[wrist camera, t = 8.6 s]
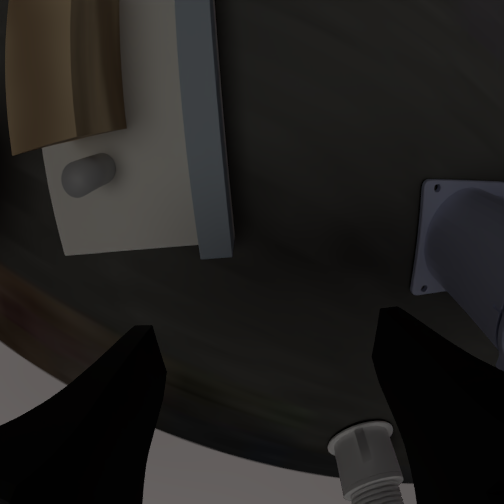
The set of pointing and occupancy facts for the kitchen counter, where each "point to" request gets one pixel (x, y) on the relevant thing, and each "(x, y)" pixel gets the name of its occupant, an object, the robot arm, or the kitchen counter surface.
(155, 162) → the board
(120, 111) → the brown tapered block
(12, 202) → the kitchen counter surface
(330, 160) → the kitchen counter surface
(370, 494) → the white threaded pipe fitting
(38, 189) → the kitchen counter surface
